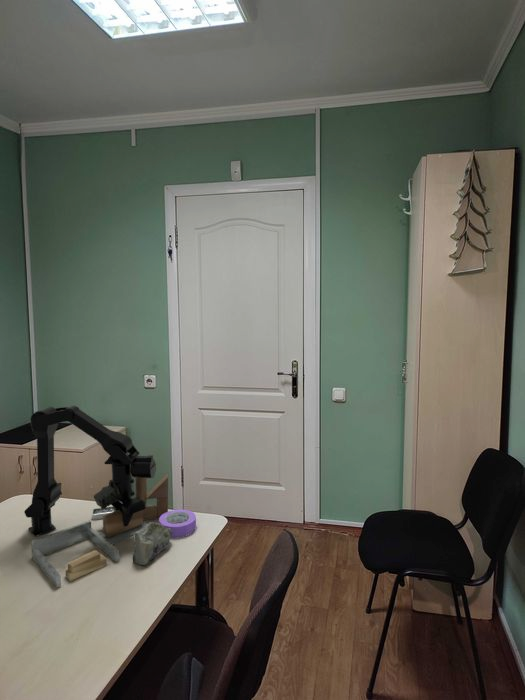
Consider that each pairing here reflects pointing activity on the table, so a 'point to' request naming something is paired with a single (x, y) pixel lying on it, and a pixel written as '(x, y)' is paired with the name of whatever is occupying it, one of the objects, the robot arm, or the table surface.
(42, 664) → the table surface
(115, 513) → the walnut panel
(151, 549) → the mineral rock
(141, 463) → the robot arm
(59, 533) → the frame
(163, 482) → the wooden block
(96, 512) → the multiport hub
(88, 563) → the offcut stack
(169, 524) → the masking tape
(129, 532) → the rubber mat
